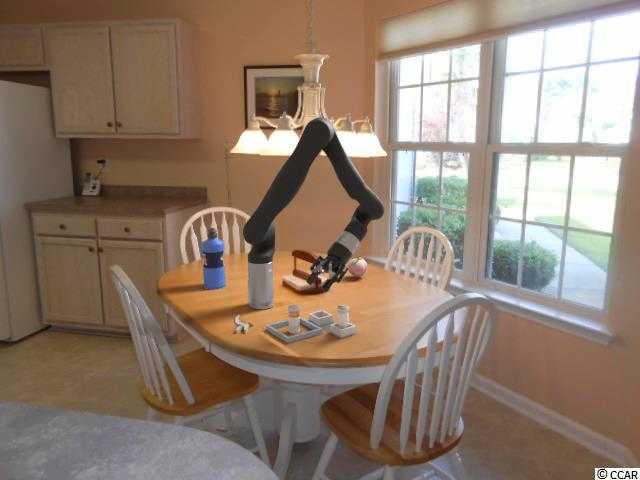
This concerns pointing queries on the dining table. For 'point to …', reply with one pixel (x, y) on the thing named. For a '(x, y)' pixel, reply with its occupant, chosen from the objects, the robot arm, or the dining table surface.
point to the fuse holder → (331, 324)
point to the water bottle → (213, 261)
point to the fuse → (343, 316)
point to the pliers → (242, 325)
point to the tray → (315, 331)
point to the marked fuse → (294, 319)
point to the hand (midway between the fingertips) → (315, 286)
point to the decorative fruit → (357, 267)
